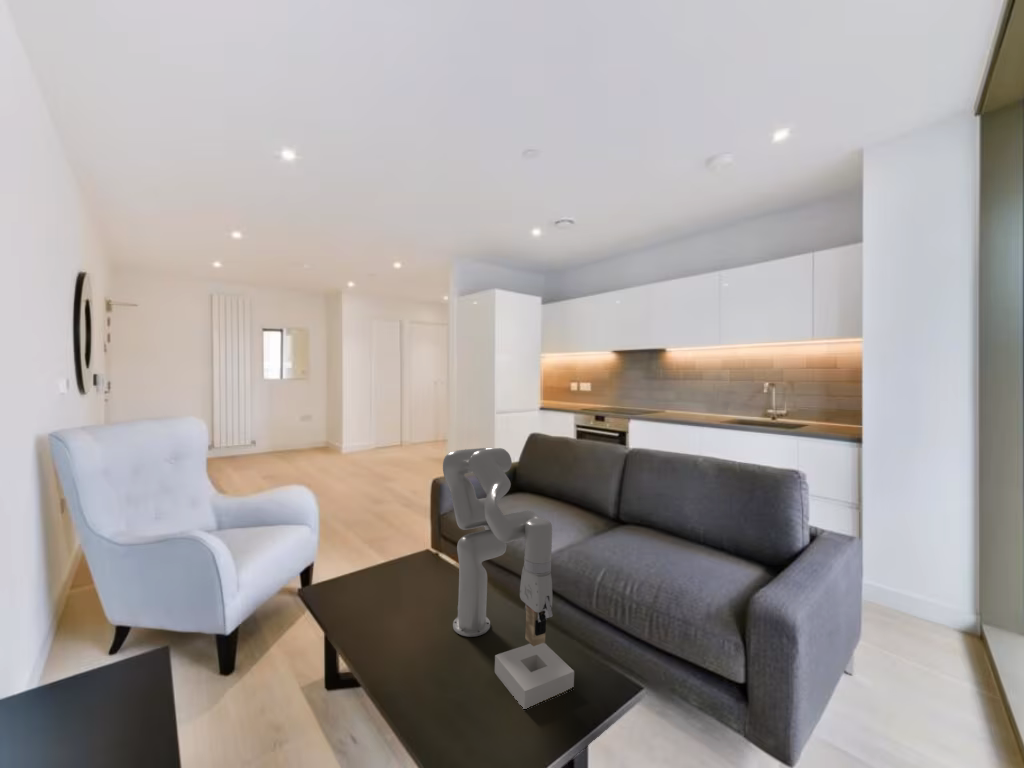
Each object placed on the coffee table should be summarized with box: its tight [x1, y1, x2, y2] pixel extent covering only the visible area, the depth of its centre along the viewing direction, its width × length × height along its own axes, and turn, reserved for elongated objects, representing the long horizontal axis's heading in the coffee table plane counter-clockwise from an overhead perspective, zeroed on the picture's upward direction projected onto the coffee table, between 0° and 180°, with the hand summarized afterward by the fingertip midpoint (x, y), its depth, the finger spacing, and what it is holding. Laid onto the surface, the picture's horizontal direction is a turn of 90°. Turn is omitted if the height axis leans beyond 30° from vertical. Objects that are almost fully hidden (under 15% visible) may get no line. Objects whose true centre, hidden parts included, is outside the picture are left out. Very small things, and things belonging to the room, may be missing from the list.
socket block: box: [494, 642, 575, 710], centre depth 121 cm, size 16×16×5 cm
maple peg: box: [524, 604, 546, 646], centre depth 121 cm, size 4×4×10 cm
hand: (535, 629), depth 121 cm, fingers closed on maple peg, 4 cm apart
